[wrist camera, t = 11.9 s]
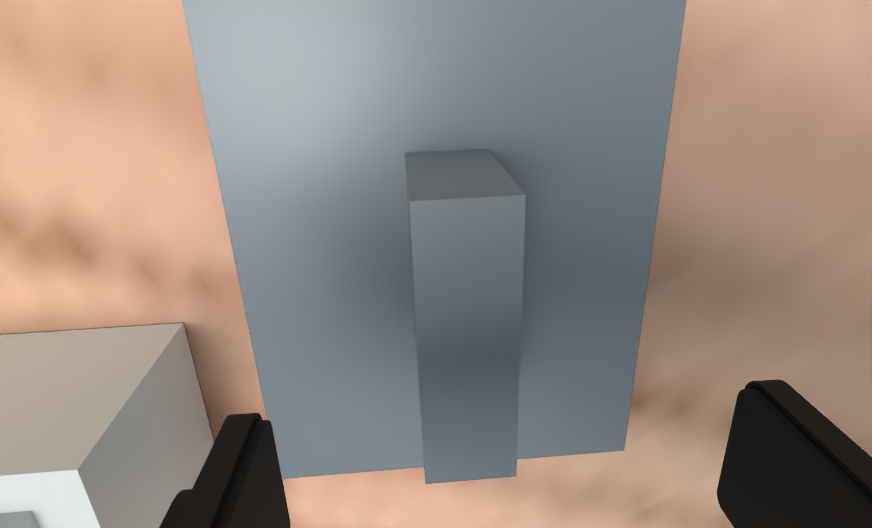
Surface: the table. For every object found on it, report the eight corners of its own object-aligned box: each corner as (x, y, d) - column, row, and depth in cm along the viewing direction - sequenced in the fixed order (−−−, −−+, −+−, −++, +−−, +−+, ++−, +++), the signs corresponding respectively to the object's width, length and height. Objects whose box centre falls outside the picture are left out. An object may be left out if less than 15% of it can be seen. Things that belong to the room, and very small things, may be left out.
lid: (607, 420, 23) (687, 564, 17) (287, 445, 22) (246, 607, 16) (658, -14, 16) (824, -43, 10) (204, 1, 15) (77, -20, 9)
